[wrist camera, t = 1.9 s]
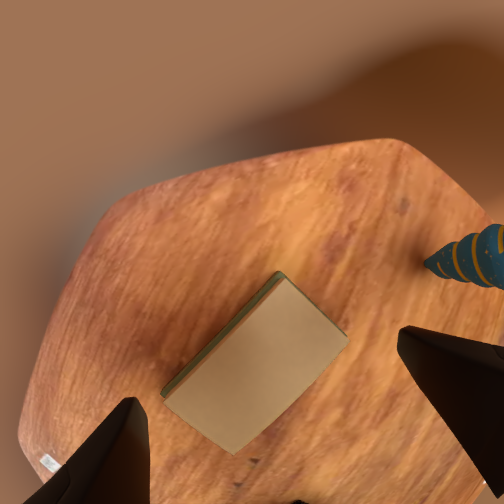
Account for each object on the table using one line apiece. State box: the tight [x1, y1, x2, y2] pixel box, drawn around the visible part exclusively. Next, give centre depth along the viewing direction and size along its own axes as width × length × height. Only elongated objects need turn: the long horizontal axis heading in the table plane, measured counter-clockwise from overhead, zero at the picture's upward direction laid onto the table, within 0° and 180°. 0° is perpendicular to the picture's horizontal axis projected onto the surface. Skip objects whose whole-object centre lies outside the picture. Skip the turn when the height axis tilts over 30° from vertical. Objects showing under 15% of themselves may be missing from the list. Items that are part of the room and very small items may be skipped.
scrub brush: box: [160, 271, 350, 455], centre depth 21 cm, size 8×14×3 cm, turn 136°
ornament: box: [424, 224, 504, 290], centre depth 18 cm, size 5×5×15 cm
